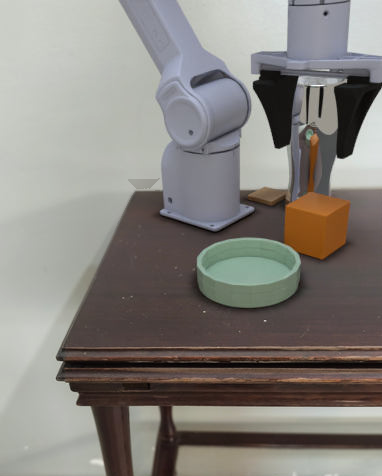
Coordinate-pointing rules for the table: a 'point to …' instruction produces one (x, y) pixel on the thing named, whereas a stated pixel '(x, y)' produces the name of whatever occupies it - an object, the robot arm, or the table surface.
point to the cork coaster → (267, 196)
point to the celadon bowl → (248, 272)
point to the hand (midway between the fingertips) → (312, 151)
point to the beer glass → (312, 137)
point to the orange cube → (316, 224)
